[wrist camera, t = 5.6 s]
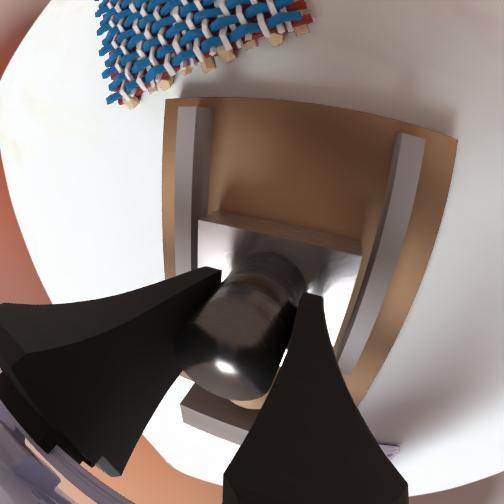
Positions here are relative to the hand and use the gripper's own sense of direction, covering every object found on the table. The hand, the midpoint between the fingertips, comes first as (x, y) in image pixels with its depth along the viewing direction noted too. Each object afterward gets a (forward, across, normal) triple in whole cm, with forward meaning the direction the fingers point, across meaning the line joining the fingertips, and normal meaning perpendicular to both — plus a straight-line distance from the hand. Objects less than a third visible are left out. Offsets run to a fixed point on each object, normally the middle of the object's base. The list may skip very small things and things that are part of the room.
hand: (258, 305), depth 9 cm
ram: (+3, 0, 0) cm, 3 cm away
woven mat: (+5, +6, -13) cm, 15 cm away
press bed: (+4, 0, +2) cm, 4 cm away
